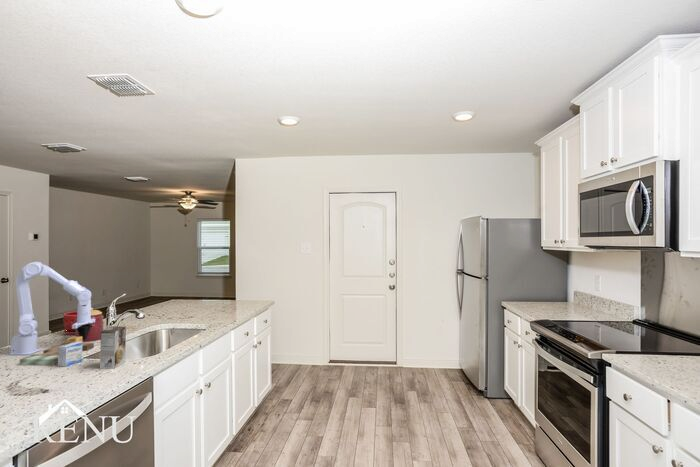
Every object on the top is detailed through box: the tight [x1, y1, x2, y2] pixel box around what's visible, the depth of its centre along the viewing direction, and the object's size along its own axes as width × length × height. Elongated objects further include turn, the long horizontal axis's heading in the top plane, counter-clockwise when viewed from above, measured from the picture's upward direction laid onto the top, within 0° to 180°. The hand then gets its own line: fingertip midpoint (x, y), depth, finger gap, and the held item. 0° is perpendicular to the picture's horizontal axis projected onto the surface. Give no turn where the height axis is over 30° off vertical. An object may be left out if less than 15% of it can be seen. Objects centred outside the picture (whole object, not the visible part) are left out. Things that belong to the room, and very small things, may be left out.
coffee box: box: [99, 325, 127, 370], centre depth 163 cm, size 9×6×16 cm
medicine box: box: [57, 342, 83, 367], centre depth 165 cm, size 8×4×9 cm, turn 168°
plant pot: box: [62, 311, 78, 336], centre depth 218 cm, size 13×13×12 cm
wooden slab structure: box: [19, 342, 95, 366], centre depth 176 cm, size 15×26×2 cm, turn 1°
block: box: [66, 335, 83, 344], centre depth 186 cm, size 4×4×4 cm
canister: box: [74, 306, 105, 343], centre depth 206 cm, size 13×13×18 cm
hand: (83, 339), depth 192 cm, fingers closed
